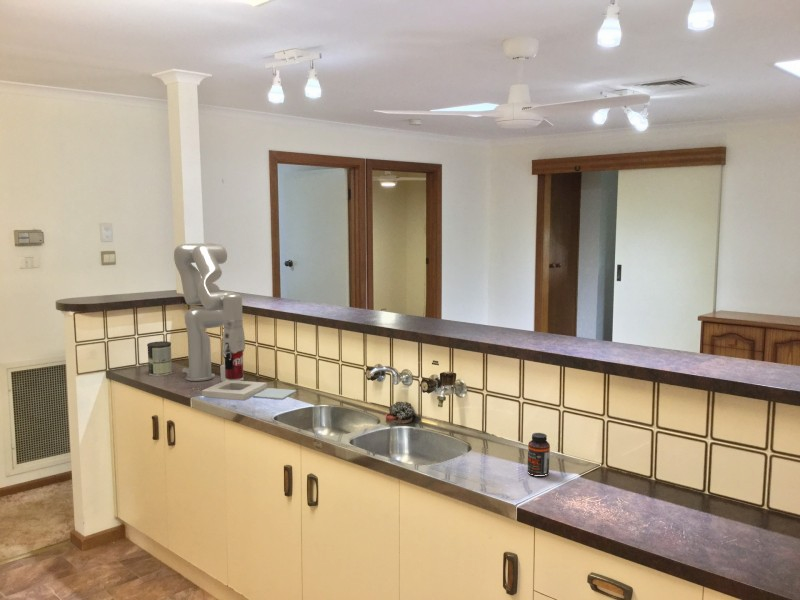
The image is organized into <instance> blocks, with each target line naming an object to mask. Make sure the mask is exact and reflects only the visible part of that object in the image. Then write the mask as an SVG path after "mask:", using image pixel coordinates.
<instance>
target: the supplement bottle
mask: <svg viewBox="0 0 800 600" xmlns="http://www.w3.org/2000/svg"><path fill="white" fill-rule="evenodd" d="M547 437H548V435H547V434H545V433H542V432H534V433H532V435H531V440H530V441H529V442H528V445H527V468H526V469H527V473H528V472H529V473H530V474H533V475H545V474H548V473H550V451H551V449H550V448H551V446H550V443H549V442H548V441H547ZM530 474H529V475H530ZM548 475H549V474H548Z"/></svg>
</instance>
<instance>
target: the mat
mask: <svg viewBox="0 0 800 600" xmlns="http://www.w3.org/2000/svg"><path fill="white" fill-rule="evenodd" d="M297 392H298V390H296V389H286V388H285V389H284V388H275V387H273V388H272V387H271V388H270V387H267V389H265V390H263V391H261V392H259V393H257V394H255V395H254V396H252V398H257V399H258V398H259V399H271V400H281V401H282V400H284V399H286V398H288V397H290V396H292V395H294V394H295V393H297Z"/></svg>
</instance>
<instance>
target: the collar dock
mask: <svg viewBox="0 0 800 600" xmlns="http://www.w3.org/2000/svg"><path fill="white" fill-rule="evenodd" d="M267 388H268V382H259V381H247V380H242V381H236V380H225V381H221V382H219V383H216V384H214V385H212V386H209V387H207V388H204V389H203V390H201V397H202V396H204V397H203V398H212V399H213V398H214V399H224V400H226V399H227V400H236V401H237V400H238V401H246V400H248V399H249V398H250V399H251V398H253V396H254V395H255V394H257V393H259V392H261V391H263V390H265V389H267Z"/></svg>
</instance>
